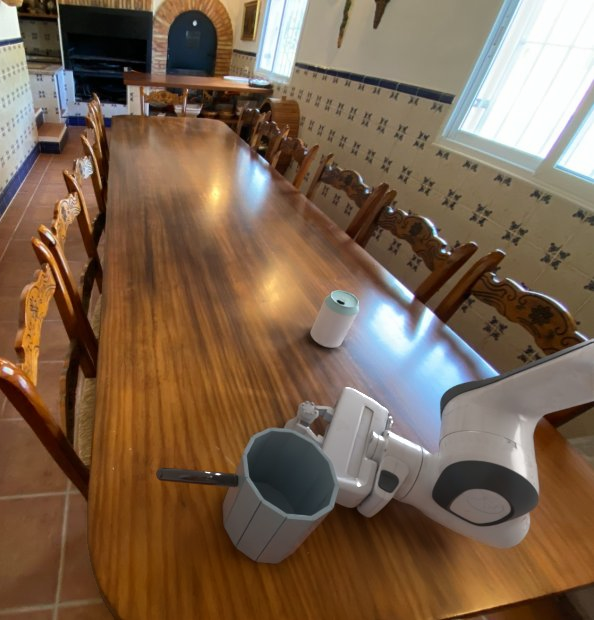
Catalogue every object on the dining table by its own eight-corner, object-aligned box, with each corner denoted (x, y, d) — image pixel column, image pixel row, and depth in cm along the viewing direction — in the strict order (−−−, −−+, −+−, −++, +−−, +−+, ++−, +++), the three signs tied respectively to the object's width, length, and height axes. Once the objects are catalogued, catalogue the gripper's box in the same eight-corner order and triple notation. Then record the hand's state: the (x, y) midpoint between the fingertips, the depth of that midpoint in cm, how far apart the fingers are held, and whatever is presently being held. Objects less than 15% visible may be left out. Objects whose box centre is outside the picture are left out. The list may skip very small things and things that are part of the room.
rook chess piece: (292, 418, 66) (306, 391, 60) (313, 436, 63) (329, 409, 58) (278, 431, 63) (290, 405, 58) (299, 450, 61) (314, 424, 56)
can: (343, 352, 80) (366, 311, 72) (311, 346, 81) (330, 305, 73) (337, 331, 85) (358, 291, 78) (307, 326, 86) (325, 285, 78)
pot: (290, 483, 56) (323, 432, 47) (306, 566, 48) (351, 524, 38) (156, 471, 56) (161, 417, 47) (149, 552, 48) (153, 506, 38)
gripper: (404, 403, 60) (322, 365, 65) (386, 510, 46) (284, 451, 52) (386, 424, 64) (310, 386, 69) (366, 528, 50) (273, 472, 56)
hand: (299, 415), depth 60 cm, fingers closed on rook chess piece, 3 cm apart
